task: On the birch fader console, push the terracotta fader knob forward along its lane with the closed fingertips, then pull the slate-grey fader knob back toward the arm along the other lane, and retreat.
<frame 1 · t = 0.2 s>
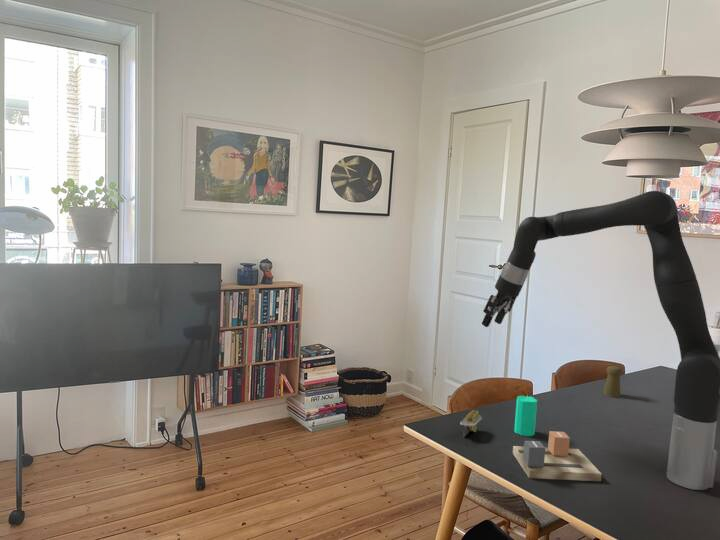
hand: (491, 324, 166), 31 cm above the table, tool tilted 20°, fingers open, 8 cm apart
cork: (611, 395, 201), on the table
console: (554, 466, 139), on the table
fader 1: (558, 443, 142), point 5 cm above the table, slide at 0.0 cm
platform: (470, 435, 158), on the table
fader 2: (534, 453, 135), point 5 cm above the table, slide at 9.0 cm
candle: (524, 432, 161), on the table
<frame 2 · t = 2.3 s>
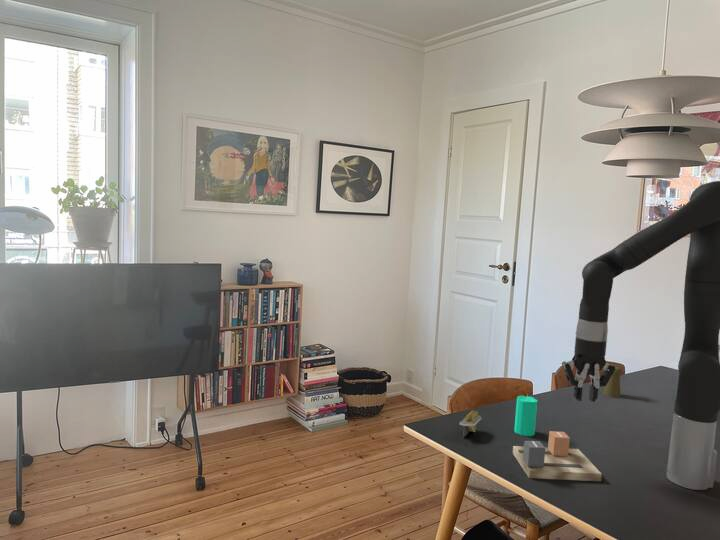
hand: (585, 400, 141), 17 cm above the table, tool pointing down, fingers open, 3 cm apart
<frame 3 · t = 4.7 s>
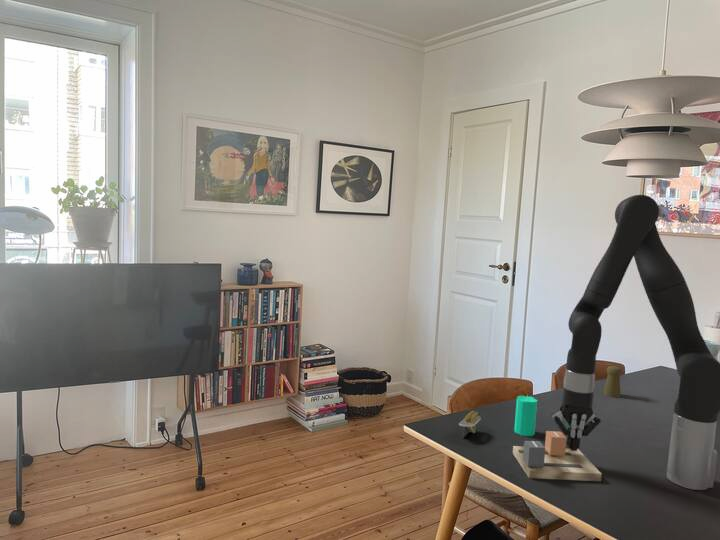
hand: (572, 449, 142), 3 cm above the table, tool pointing down, fingers closed
fader 1: (555, 443, 142), point 5 cm above the table, slide at 0.9 cm, touching gripper
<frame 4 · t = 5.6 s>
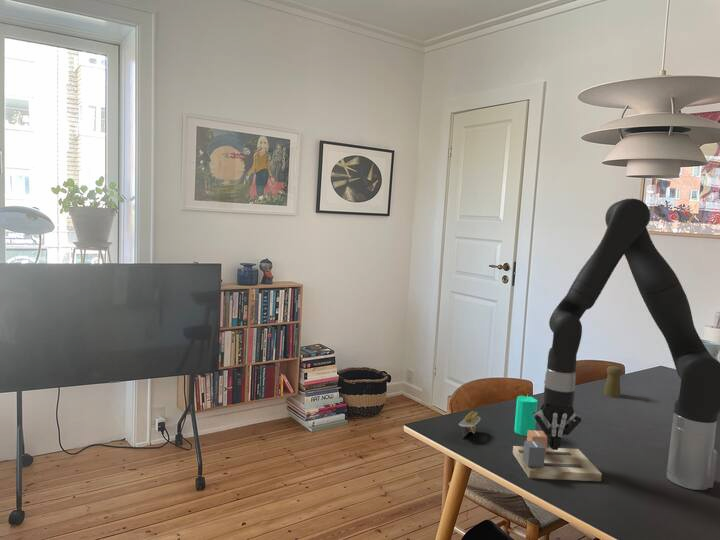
hand: (553, 448, 142), 3 cm above the table, tool pointing down, fingers closed
fader 1: (536, 442, 142), point 5 cm above the table, slide at 5.9 cm, touching gripper
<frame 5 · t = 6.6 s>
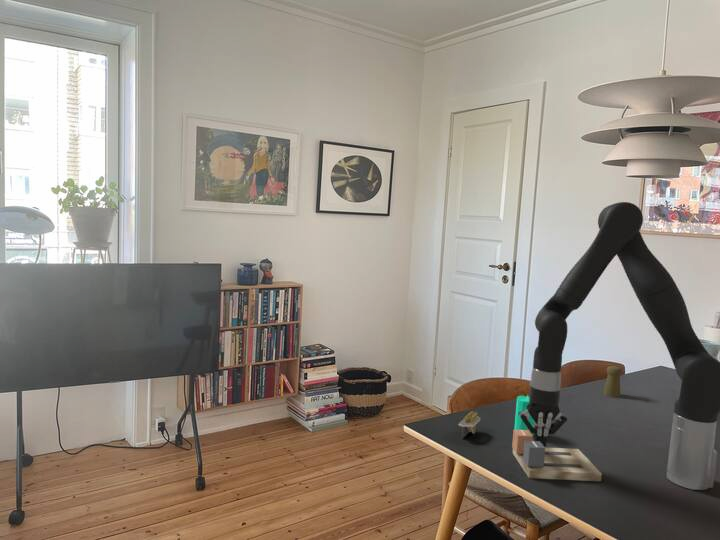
hand: (539, 447, 142), 3 cm above the table, tool pointing down, fingers closed
fader 1: (522, 441, 142), point 5 cm above the table, slide at 9.8 cm, touching gripper
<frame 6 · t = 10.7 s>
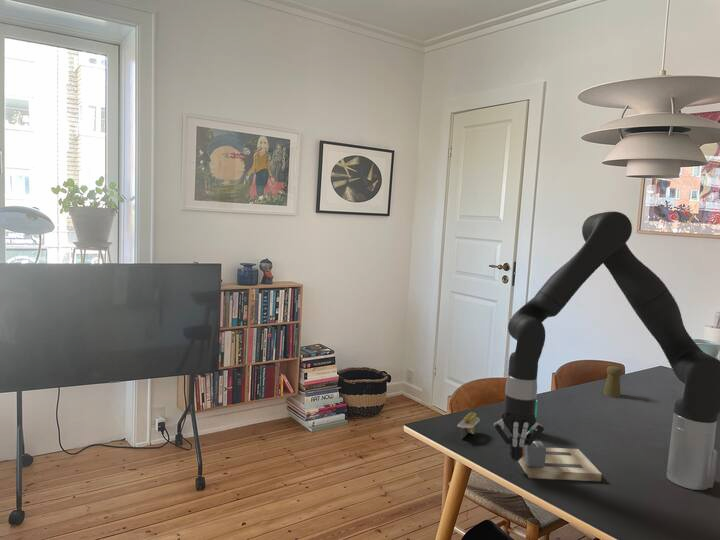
hand: (515, 459, 135), 3 cm above the table, tool pointing down, fingers closed
fader 1: (522, 441, 142), point 5 cm above the table, slide at 9.8 cm
fader 2: (534, 453, 135), point 5 cm above the table, slide at 8.8 cm, touching gripper
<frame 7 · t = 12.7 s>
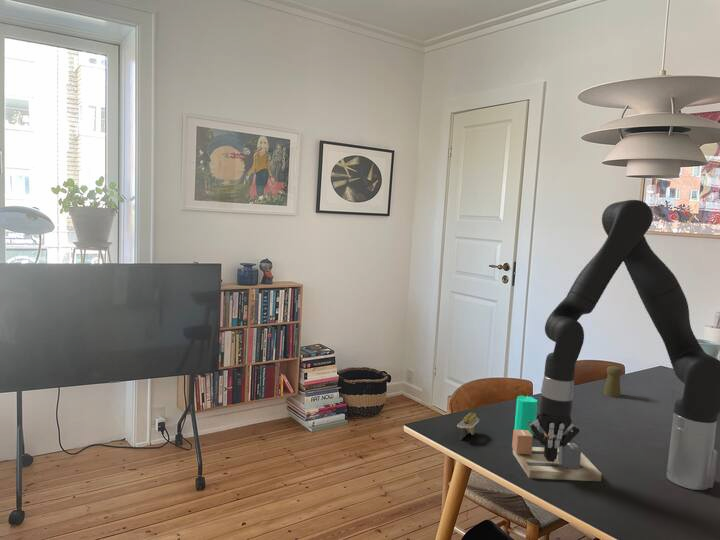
hand: (549, 460, 135), 3 cm above the table, tool pointing down, fingers closed
fader 2: (569, 455, 135), point 5 cm above the table, slide at -0.1 cm, touching gripper
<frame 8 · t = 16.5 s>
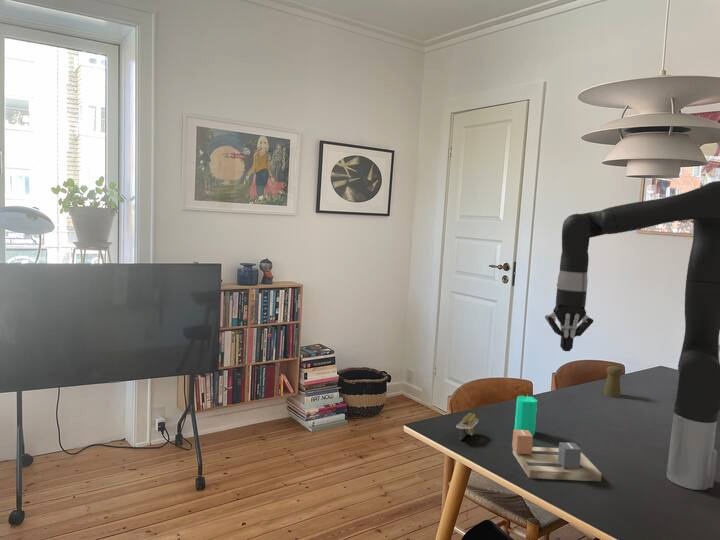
hand: (566, 350, 145), 29 cm above the table, tool pointing down, fingers closed
fader 2: (569, 455, 135), point 5 cm above the table, slide at 0.0 cm
at the end: fader 1 slide at 9.8 cm; fader 2 slide at 0.0 cm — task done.
